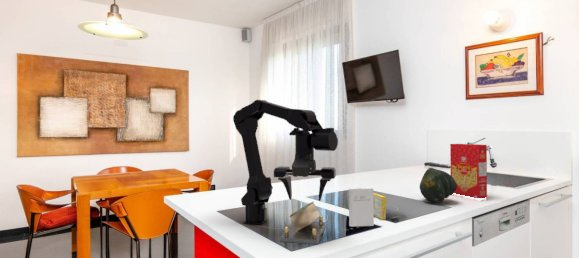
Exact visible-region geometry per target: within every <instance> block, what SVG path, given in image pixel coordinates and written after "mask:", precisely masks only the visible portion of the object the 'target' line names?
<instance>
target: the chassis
mask: <svg viewBox="0 0 579 258" xmlns="http://www.w3.org/2000/svg"><path fill="white" fill-rule="evenodd" d="M326 226H327V222H326V221H324V216H323V215H320V216H319V217H318V221H313V222H312V223H311V224H310V225H308V226H306V227H304V228H302V229H300V230H298V231H297V229H296V227H295V225H294V224H293V222H291V223H290V225H288V226H286V225H285V226H284V232H283V233H282V235H281V236H280V240H279V241H280V242H281V243H282V242H283V243H292V244H293V243H297V244H308V245H310V244H311V245H319V244H320V242H321V239H322V236H323V233H324V231H325V230H326Z"/></svg>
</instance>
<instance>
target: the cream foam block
mask: <svg viewBox="0 0 579 258" xmlns="http://www.w3.org/2000/svg"><path fill="white" fill-rule="evenodd" d="M319 216H321V213H320V211H319V210H318V208H317V206H316V204H315V203H314V201H312V202H309V203H307V204H305V205H303V206H302V207H300V208H299V209H297V210H296V211H294V212H293V213H291V214H290V215H289V218H290V220H291V221H292V222H293V224H294V225H295V227H296V229H297V231H298V230H300V229H302V228H304V227H306V226H308V225H310V224H311V223H312V222H315V221H316V220H317V218H318V219H319ZM292 222H291V223H292Z"/></svg>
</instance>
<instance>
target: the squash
mask: <svg viewBox="0 0 579 258" xmlns="http://www.w3.org/2000/svg"><path fill="white" fill-rule="evenodd" d="M456 189H457V184H456V181H455V180H454V178H453V177H452V176H451V174H449V173H448V172H447V171H444V170H441V169H437V168H434V167H429V168H427V169H426V171H425V172H424V174H423V175H422V178H421V180H420V183H419V190H420V194H421V195H422V197H423V198H425V200H426V201H428V202H431V201H432V203H440V202H443V201H444V200H445V199H447V198H449V197H450V196H453V195H452V194H453V193H454V192H455V191H456Z"/></svg>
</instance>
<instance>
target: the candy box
mask: <svg viewBox="0 0 579 258" xmlns="http://www.w3.org/2000/svg"><path fill="white" fill-rule="evenodd" d="M373 201H374V218H377V219H379V220H381V221H385V220H386V218H387V217H386V216H387V215H386V214H387V213H386V212H387V209H386V208H387V197H386V196H384V195H382V194H378V193H376V192H373Z"/></svg>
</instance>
